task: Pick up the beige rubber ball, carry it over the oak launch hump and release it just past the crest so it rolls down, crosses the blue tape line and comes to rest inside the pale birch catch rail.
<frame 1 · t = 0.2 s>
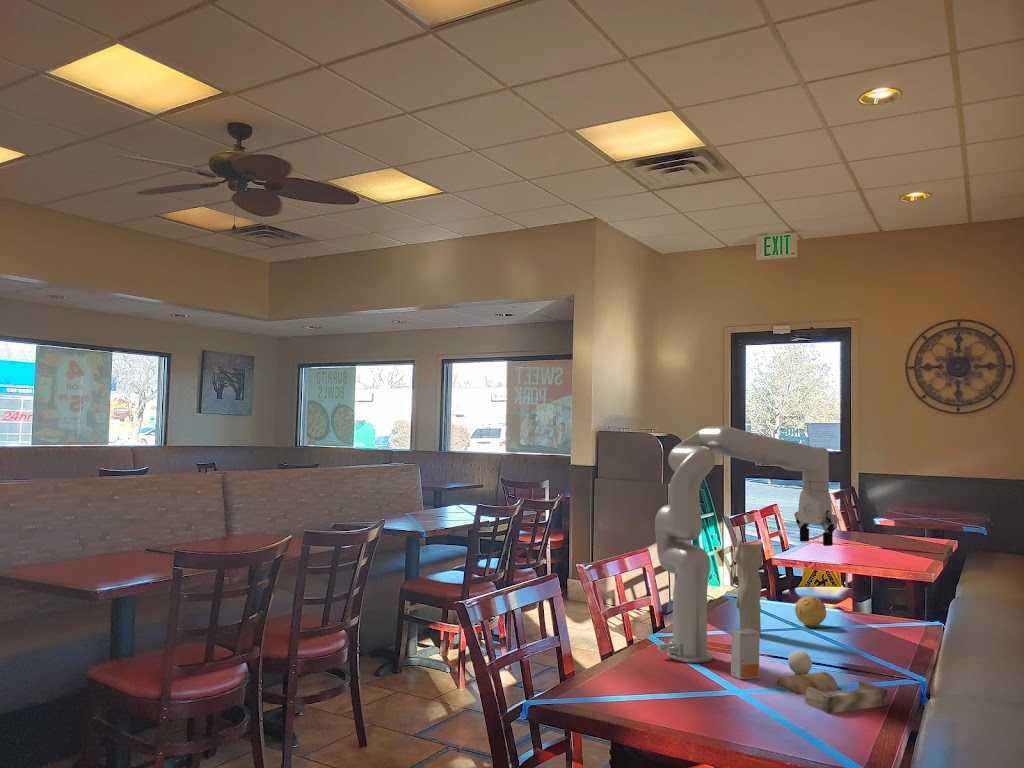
hand: (815, 543, 238), 31 cm above the table, fingers open, 9 cm apart
stress ball: (810, 626, 262), on the table
ball: (799, 662, 208), point 3 cm above the table
skincare box: (745, 677, 204), on the table
tape line: (834, 699, 188), on the table
catch rail: (845, 703, 185), on the table
vase: (749, 634, 250), on the table
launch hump: (806, 686, 197), on the table
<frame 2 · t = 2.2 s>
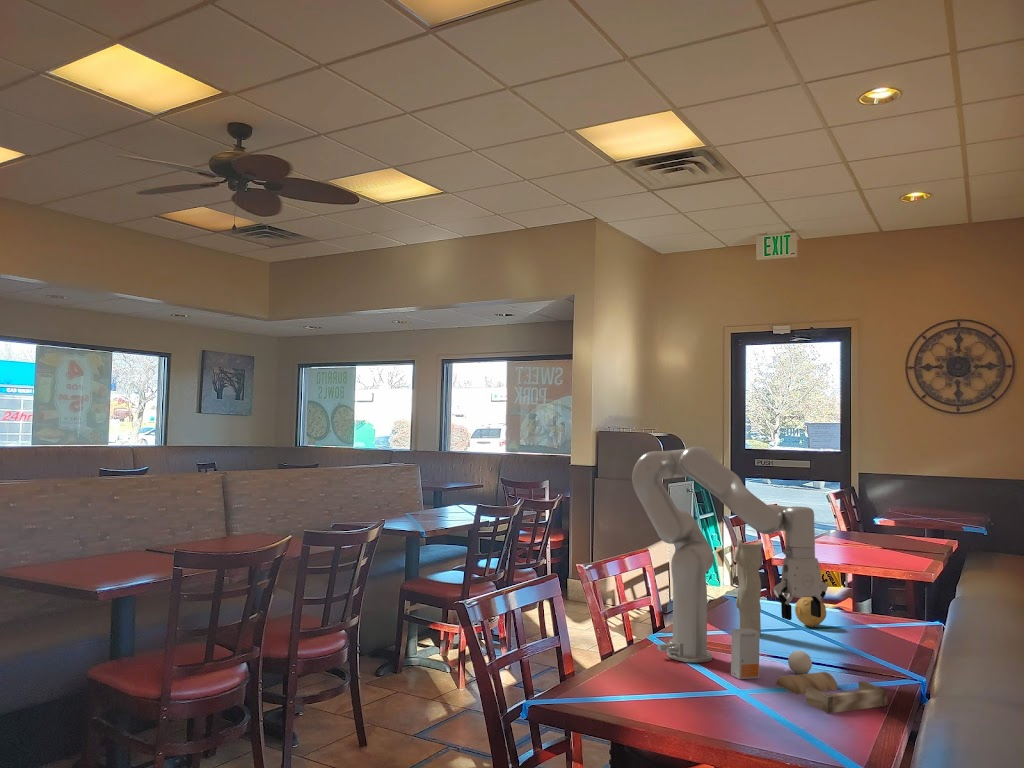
hand: (801, 617, 208), 15 cm above the table, fingers open, 9 cm apart
nothing on the table moved.
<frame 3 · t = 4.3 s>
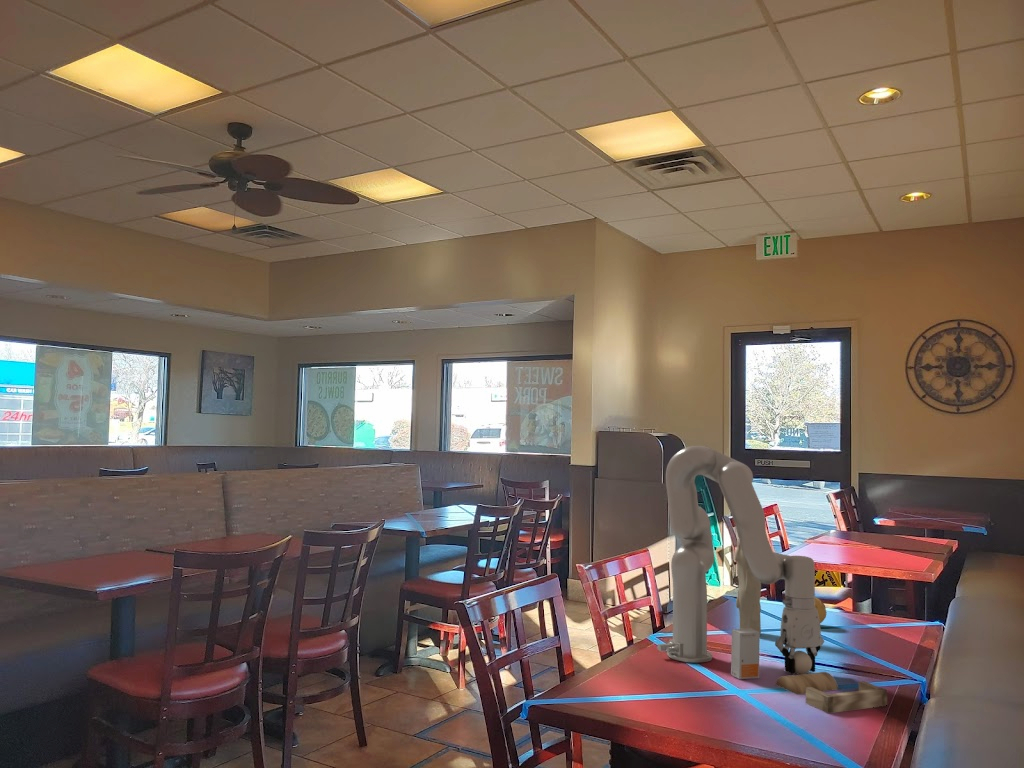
hand: (800, 670, 208), 1 cm above the table, fingers closed on ball, 6 cm apart
ball: (799, 662, 208), point 3 cm above the table, touching gripper
everything else where it was.
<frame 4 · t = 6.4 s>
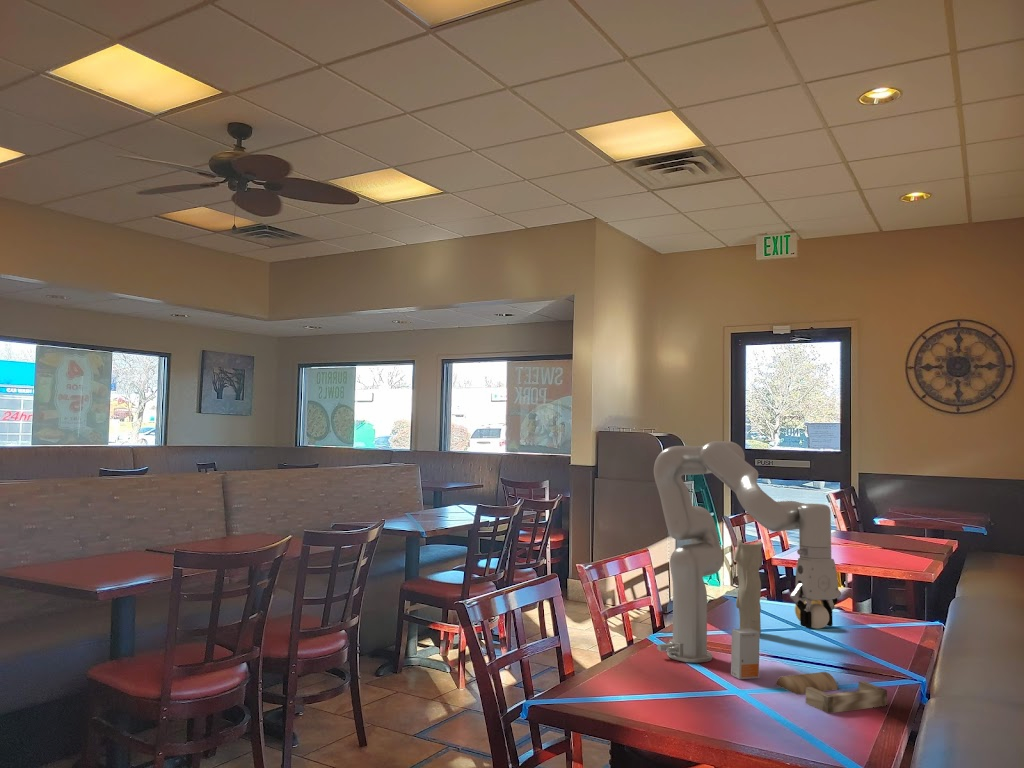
hand: (816, 625, 195), 16 cm above the table, fingers closed on ball, 6 cm apart
ball: (816, 616, 195), point 18 cm above the table, touching gripper
everything else where it was.
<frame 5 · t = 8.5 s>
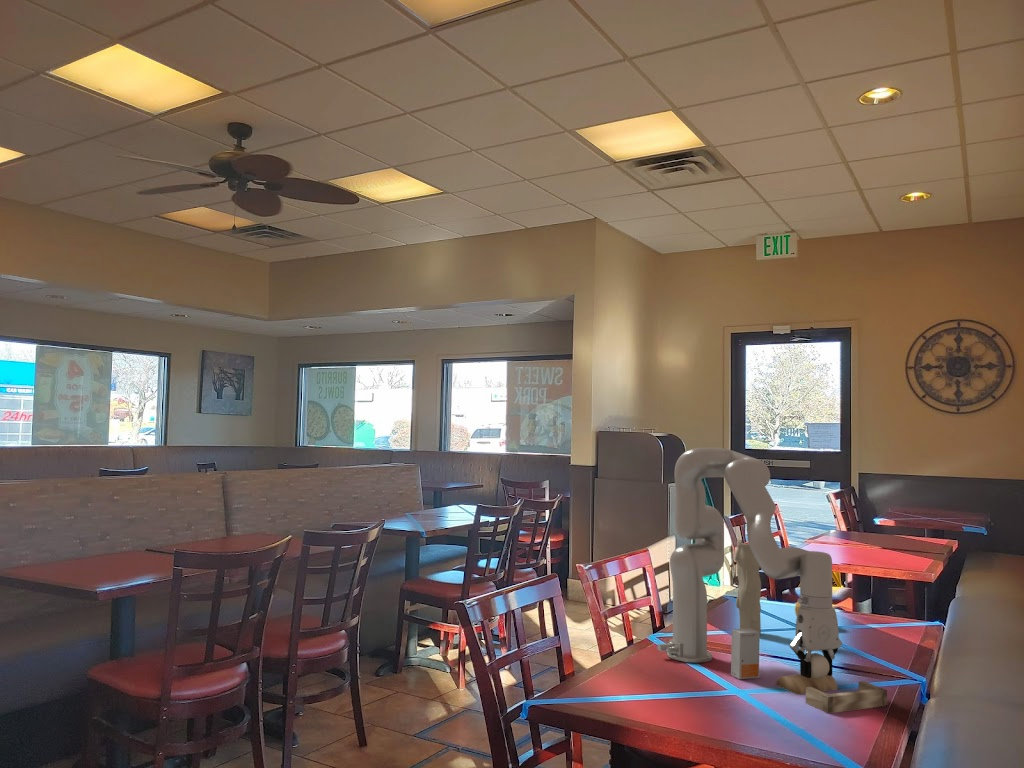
hand: (816, 674, 194), 4 cm above the table, fingers closed on ball, 5 cm apart
ball: (816, 665, 194), point 6 cm above the table, touching gripper
everything else where it was.
when the fingers open (4 cm above the table, at t = 8.7 s): ball drops 3 cm and tips over, point 3 cm above the table.
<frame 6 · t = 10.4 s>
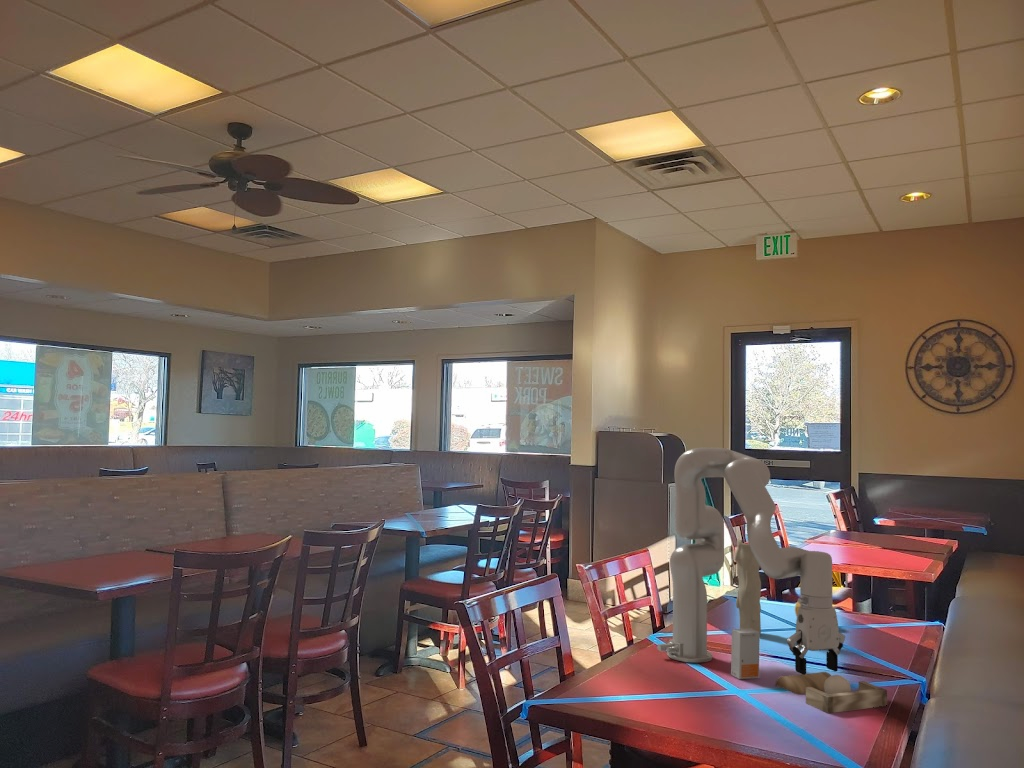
hand: (816, 671, 194), 5 cm above the table, fingers open, 9 cm apart
ball: (837, 688, 187), point 3 cm above the table, tilted 167°
everything else where it was.
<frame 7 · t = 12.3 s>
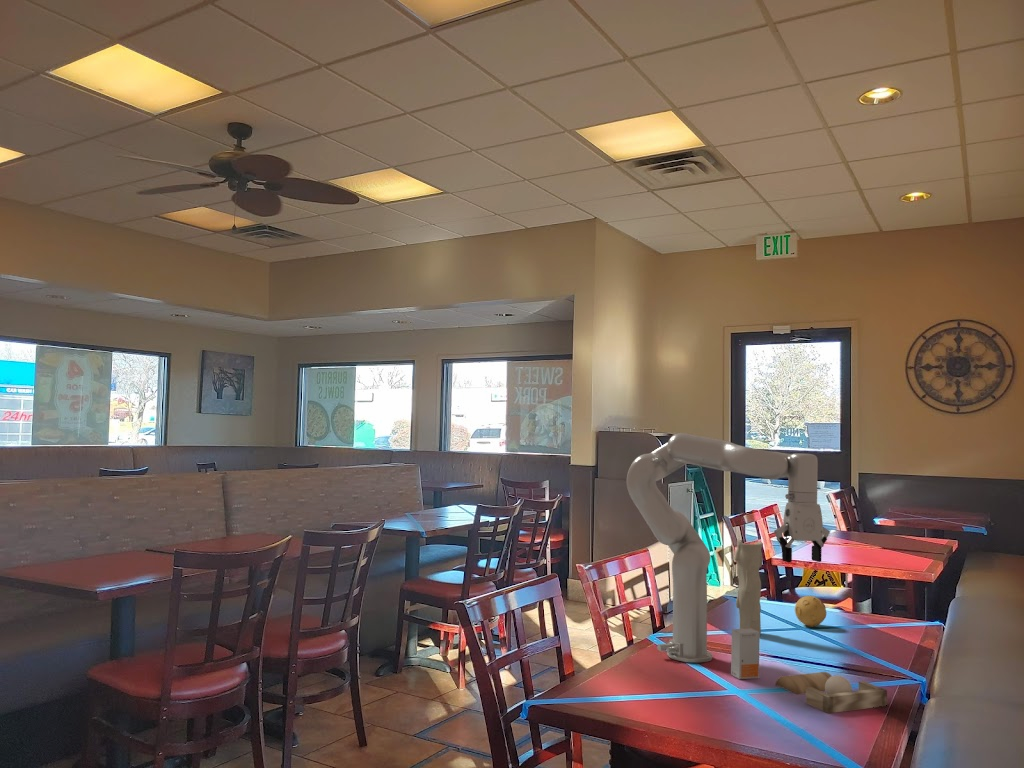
hand: (801, 561, 213), 29 cm above the table, fingers open, 9 cm apart
ball: (838, 688, 186), point 3 cm above the table, tilted 173°
everything else where it was.
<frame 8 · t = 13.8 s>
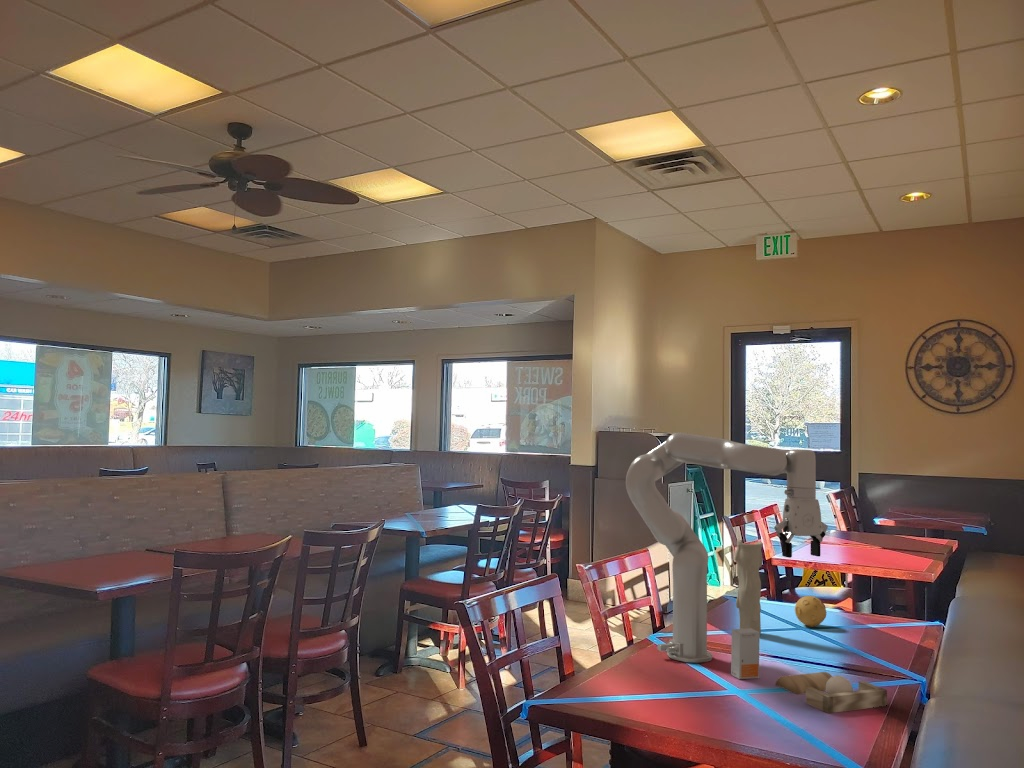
hand: (801, 556, 215), 30 cm above the table, fingers open, 9 cm apart
nothing on the table moved.
at the end: ball inside the target area (0.9 cm from its centre), point 3.0 cm above the table; the gripper is holding nothing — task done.
